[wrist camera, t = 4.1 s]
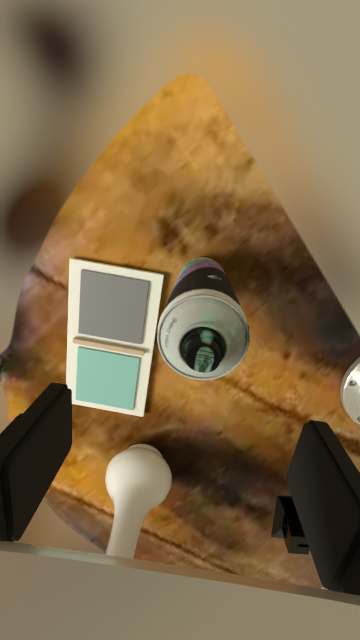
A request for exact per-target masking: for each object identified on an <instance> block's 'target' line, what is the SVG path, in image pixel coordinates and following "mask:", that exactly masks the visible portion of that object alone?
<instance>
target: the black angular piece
mask: <svg viewBox="0 0 360 640" xmlns="http://www.w3.org/2000/svg"><path fill="white" fill-rule="evenodd" d="M271 537H277V538H284V540H285V544H286V547H287V549H288V553H295V554H309V550H310V548H309V545H308V543H307V540H306V537H305V534H304V531H303V528H302V525H301V522H300V519H299V516H298V513H297V510H296V507H295V505H294V502H293V499H292V496H277V501H276V508H275V514H274V521H273V528H272V534H271Z"/></svg>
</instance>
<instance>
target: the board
mask: <svg viewBox="0 0 360 640" xmlns="http://www.w3.org/2000/svg"><path fill="white" fill-rule="evenodd" d="M163 280H164V274H161V273H155V272H150V271H144V270H138V269H133V268H127V267H121V266H116V265H110V264H104V263H99V262H93V261H88V260H82V259H76V258H70V263H69V299H68V336H67V372H66V385H67V386H68V389H71V390H72V404H77V405H82V406H87V407H93V408H98V409H104V410H109V411H114V412H120V413H125V414H131V415H136V416H141V417H143V416H144V411H145V404H146V397H147V391H148V384H149V377H150V370H151V363H152V356H153V349H154V342H155V335H156V328H157V322H158V315H159V308H160V301H161V294H162V287H163Z"/></svg>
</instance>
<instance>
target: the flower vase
mask: <svg viewBox="0 0 360 640" xmlns="http://www.w3.org/2000/svg"><path fill="white" fill-rule="evenodd" d="M105 480H106V488H107V491H108V493H109V496H110V498H111V499H112V500H113V502H114V521H113V526H112V531H111V535H110V539H109V543H108V547H107V551H106V555H110V556H117V557H124V558H131V559H133V557H134V553H135V549H136V545H137V541H138V537H139V533H140V530H141V526H142V524H143V522H144V520H145V518H146V516H147V515H148V513H149V512H150V511H151V510H152V509H154V508H156V507H157V506H159V505H160V504H161V503H162V502H163V500H164V499H165V498H166V497H167V495H168V493H169V490H170V488H171V485H172V474H171V471H170V467H169V466H168V464H167V463H166V461H165V460H164V458H163V457H162V455H161V453H160V452H159V451H158V450H157V449H156V448H154V447H153V446H151V445H147V444H135V445H132V446H130V447H129V448H128V449H126V450H123V451H121V452H120V453H118V454H117V455H116V456H114V457H113V458H112V460H111V461H110V463H109V464H108V467H107V471H106V476H105Z"/></svg>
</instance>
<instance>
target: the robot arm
mask: <svg viewBox="0 0 360 640" xmlns="http://www.w3.org/2000/svg"><path fill="white" fill-rule="evenodd" d="M340 399H341V403H342V405H343V407H344V409H345V411H346V412H347V414H348V415H349V416H350V418H351V419H352V420H353V421H354V422H355V423H357V424H358V425H360V357H359V358H358V359H357V360H356V361H355V362H354V363H353V364H352V365H351V366H350V368H349V369H348V370H347V372H346V373H345V375H344V378H343V380H342V383H341V387H340ZM71 445H72V390H71V389H68V386H67V385H66V384H59V383H51V384H50V385H49V386H48V387H47V388H46V389H45V390H44V391H43V392H42V393H41V395H40V396H39V397H38V398H37V399H36V400H35V401H34V402H33V403H32V404H31V406H30V407H29V408H28V409H27V410H26V411H25V412H24V413H22V414H19V415H18V416H17V417H16V418H15V419H14V420H13V421H12V422H11V423H10V424H9V425H8V426H7V427H6V429H5V430H4V431H3V432H2V433H1V434H0V640H360V473H359V471H358V470H357V468H356V467H355V465H354V464H353V462H352V461H351V459H350V457H349V456H348V454H347V453H346V451H345V450H344V448H343V447H342V445H341V443H340V442H339V440H338V439H337V437H336V436H335V434H334V433H333V431H332V430H331V428H330V426H329V425H328V424H327V423H326V422H320V421H313V420H310V421H309V422H308V423H305V424H304V426H303V429H302V432H301V434H300V437H299V440H298V443H297V446H296V449H295V452H294V455H293V458H292V460H291V463H290V466H289V469H288V472H287V484H288V487H289V490H290V493H291V496H292V499H293V502H294V505H295V507H296V510H297V513H298V516H299V519H300V522H301V525H302V528H303V531H304V534H305V537H306V540H307V543H308V545H309V548H310V551H311V554H312V557H313V560H314V563H315V566H316V569H317V572H318V575H319V578H320V581H321V583H322V585H323V587H324V588H327V589H328V590H325V589H320V588H314V587H309V586H303V585H296V584H290V583H284V582H278V581H272V580H265V579H259V578H253V577H247V576H240V575H234V574H228V573H222V572H215V571H209V570H202V569H196V568H189V567H183V566H176V565H170V564H163V563H157V562H150V561H144V560H137V559H131V558H124V557H117V556H110V555H103V554H97V553H90V552H83V551H76V550H69V549H63V548H55V547H47V546H40V545H32V544H24V543H16V542H13V541H14V540H15V541H18V540H19V539H20V538H21V536H22V535H23V533H24V531H25V530H26V528H27V526H28V524H29V522H30V521H31V519H32V517H33V515H34V513H35V512H36V510H37V508H38V506H39V504H40V503H41V501H42V499H43V497H44V496H45V494H46V492H47V490H48V489H49V487H50V485H51V483H52V481H53V480H54V478H55V476H56V474H57V472H58V471H59V469H60V467H61V465H62V464H63V462H64V460H65V458H66V456H67V455H68V453H69V451H70V449H71Z"/></svg>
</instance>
